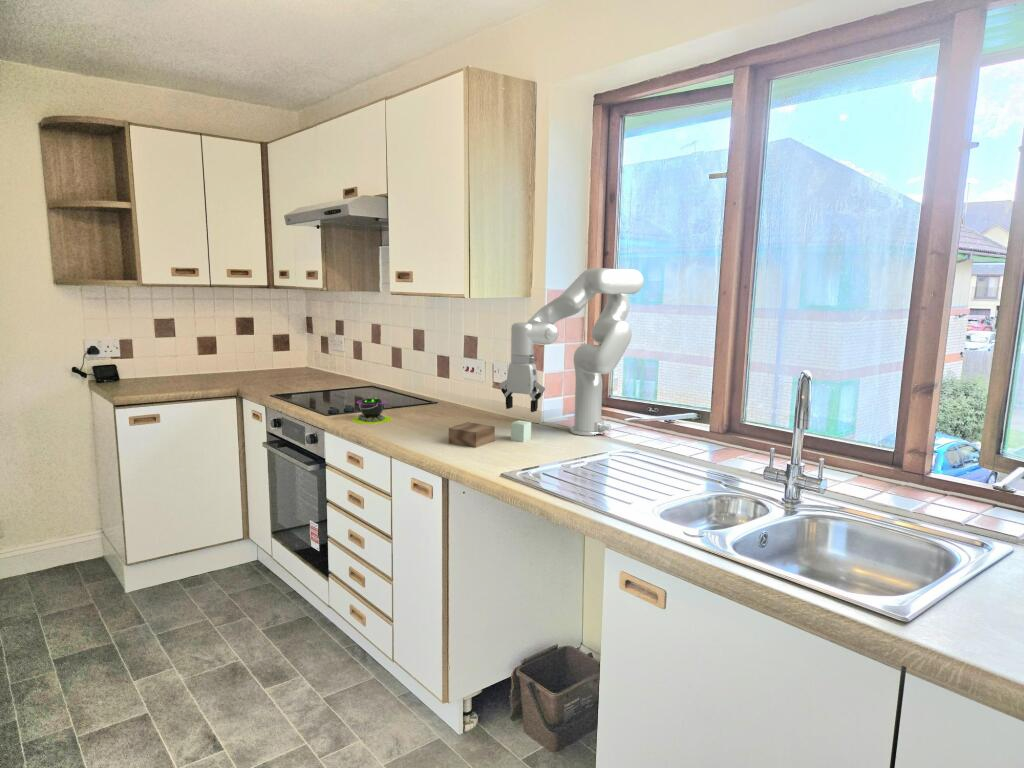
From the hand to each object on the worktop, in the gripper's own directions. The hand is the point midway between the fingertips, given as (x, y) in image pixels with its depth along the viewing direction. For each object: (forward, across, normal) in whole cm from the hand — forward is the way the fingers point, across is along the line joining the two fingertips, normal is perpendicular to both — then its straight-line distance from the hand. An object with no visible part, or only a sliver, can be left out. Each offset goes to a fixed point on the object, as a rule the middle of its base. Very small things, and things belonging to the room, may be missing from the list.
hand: (521, 409), depth 225 cm
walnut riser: (+10, +12, +12) cm, 20 cm away
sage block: (+10, 0, 0) cm, 10 cm away
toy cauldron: (+11, +64, +5) cm, 65 cm away
